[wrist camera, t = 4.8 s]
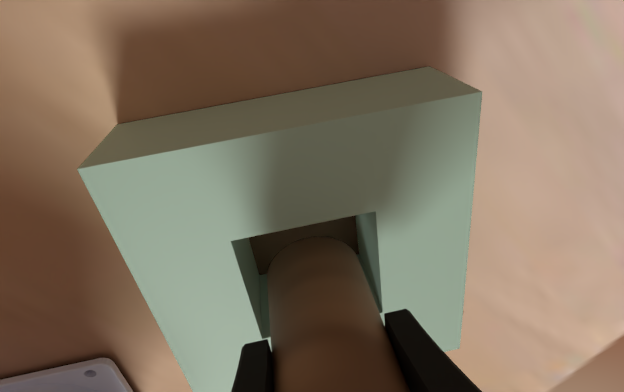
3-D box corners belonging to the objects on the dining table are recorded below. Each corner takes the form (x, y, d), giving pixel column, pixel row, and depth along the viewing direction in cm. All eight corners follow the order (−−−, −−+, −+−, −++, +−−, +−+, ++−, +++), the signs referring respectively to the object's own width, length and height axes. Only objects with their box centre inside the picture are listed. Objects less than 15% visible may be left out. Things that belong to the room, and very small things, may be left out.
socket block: (208, 337, 18) (201, 407, 15) (116, 124, 13) (77, 169, 10) (426, 290, 19) (459, 348, 16) (429, 66, 13) (482, 91, 10)
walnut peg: (280, 318, 14) (313, 659, 7) (255, 251, 12) (264, 613, 5) (365, 295, 14) (482, 611, 7) (352, 226, 12) (488, 550, 5)
